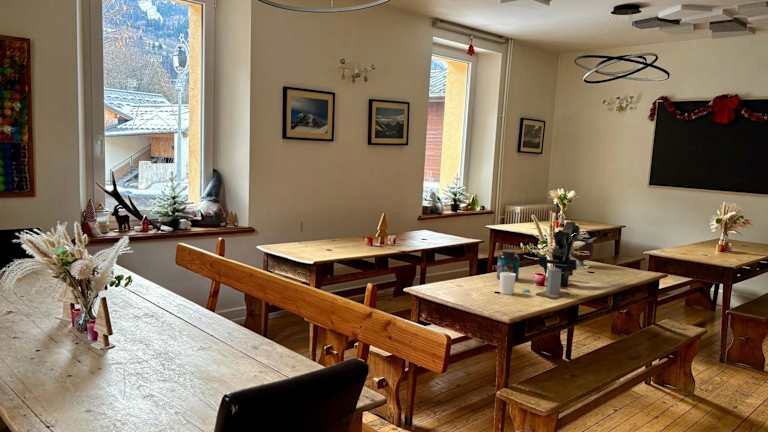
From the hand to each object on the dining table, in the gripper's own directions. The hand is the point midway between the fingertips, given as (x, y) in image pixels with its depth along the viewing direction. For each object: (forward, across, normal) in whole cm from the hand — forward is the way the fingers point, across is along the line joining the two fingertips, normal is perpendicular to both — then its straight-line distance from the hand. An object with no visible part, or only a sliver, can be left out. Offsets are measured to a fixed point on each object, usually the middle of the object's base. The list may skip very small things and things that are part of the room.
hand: (554, 276), depth 284 cm
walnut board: (+7, 0, +6) cm, 10 cm away
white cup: (+15, -21, -1) cm, 26 cm away
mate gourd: (-57, +1, +72) cm, 91 cm away
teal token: (+8, -13, +5) cm, 17 cm away
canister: (+7, 0, +5) cm, 9 cm away
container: (-9, -30, +23) cm, 38 cm away
